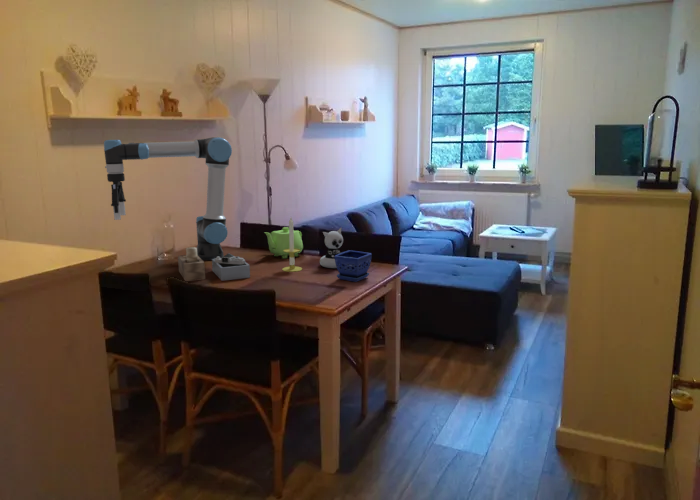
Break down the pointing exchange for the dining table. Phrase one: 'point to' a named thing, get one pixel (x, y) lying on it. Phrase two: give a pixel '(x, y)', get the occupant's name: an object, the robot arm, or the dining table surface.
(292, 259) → the candle
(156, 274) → the dining table surface
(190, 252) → the cream rounded upright piece
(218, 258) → the camera
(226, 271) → the caddy
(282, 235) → the teapot
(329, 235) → the decorative figurine
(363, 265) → the flower pot
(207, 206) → the robot arm
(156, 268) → the dining table surface
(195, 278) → the beige slotted holder
